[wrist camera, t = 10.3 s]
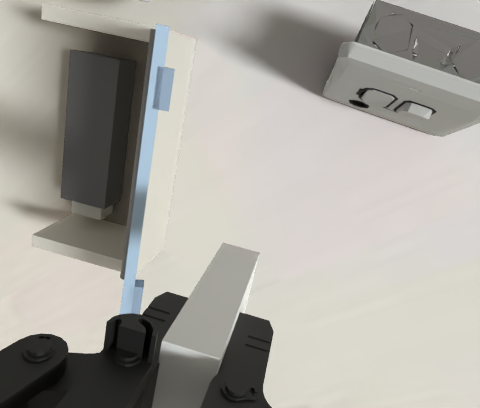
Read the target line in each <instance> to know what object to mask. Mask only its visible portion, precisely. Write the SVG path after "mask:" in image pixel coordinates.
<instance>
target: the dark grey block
mask: <svg viewBox="0 0 480 408" xmlns="http://www.w3.org/2000/svg"><path fill="white" fill-rule="evenodd" d="M135 68H136V62H132V61H128V60H123V59H119V58H114V57H110V56H106V55H101V54H97V53H92V52H85V51H77V50H70V65H69V80H68V95H67V110H66V126H65V141H64V156H63V171H62V186H61V198H64V199H67V200H71V201H72V203H71V212H72V213H76V214H79V215H83V216H86V217H90V218H94V219H97V220H102V219H103V218H105V217H106V216H108V215H110V214H111V213H113V204H114V203H116V202H118V201H120V198H121V189H122V180H123V172H124V163H125V154H126V146H127V137H128V129H129V120H130V111H131V103H132V94H133V85H134V77H135Z"/></svg>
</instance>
